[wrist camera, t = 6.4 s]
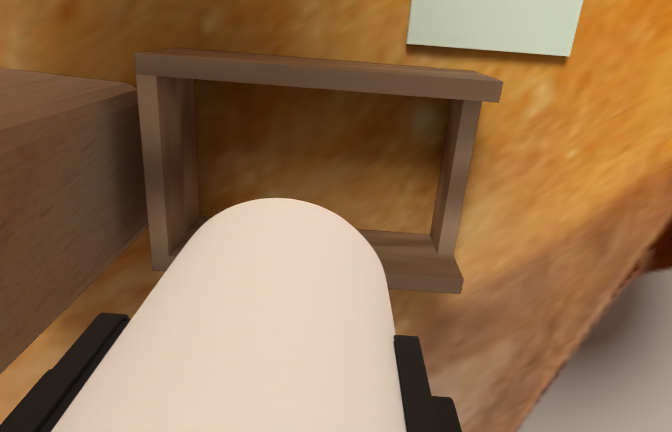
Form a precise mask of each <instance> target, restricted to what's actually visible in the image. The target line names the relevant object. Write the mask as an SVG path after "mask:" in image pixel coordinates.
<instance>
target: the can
mask: <svg viewBox="0 0 672 432" xmlns="http://www.w3.org/2000/svg"><path fill="white" fill-rule="evenodd" d="M394 335H396V334H395V328H394V322H393V316H392V310H391V304H390V298H389V292H388V287H387V282H386V277H385V273H384V270H383V267H382V264H381V262H380V260H379V258H378V256H377V254H376V252H375V251H374V249H373V248H372V247H371V245H370V244H369V243H368V241H367V240H366V239H365V238H364V237H363V236H362V235H361V234H360V233H359V232H358V231H357V230H356V229H355V228H354V227H353V226H352V225H351V224H349V223H348V222H347V221H346V220H344V219H343V218H342V217H340V216H338V215H337V214H335V213H333V212H332V211H330V210H328V209H325V208H323V207H321V206H318V205H315V204H312V203H309V202H305V201H300V200H295V199H287V198H265V199H257V200H251V201H247V202H243V203H240V204H237V205H234V206H232V207H230V208H227V209H225V210H223V211H222V212H220V213H218V214H216V215H215V216H213V217H212V218H211V219H209V220H208V221H207V222H206V223H204V224H203V225H202V226H201V227H200V228H199V229H198V230H197V231H196V232H195V234H194V235H193V236H192V237H191V238H190V240H189V241H188V242H187V244H186V245H185V246H184V247H183V249H182V250H181V252H180V253H179V254H178V256H177V257H176V258H175V260H174V261H173V262H172V264H171V265H170V266H169V268H168V269H167V271H166V272H165V273H164V275H163V276H162V277H161V279H160V280H159V282H158V283H157V284H156V286H155V287H154V289H153V290H152V291H151V293H150V294H149V295H148V297H147V298H146V300H145V301H144V302H143V304H142V305H141V307H140V308H139V309H138V311H137V312H136V314H135V315H134V316H133V318H132V319H131V321H130V322H129V323H128V325H127V326H126V327H125V329H124V330H123V332H122V333H121V334H120V336H119V337H118V339H117V340H116V341H115V343H114V344H113V346H112V347H111V348H110V350H109V351H108V353H107V354H106V355H105V357H104V358H103V360H102V361H101V362H100V364H99V365H98V367H97V368H96V369H95V371H94V372H93V374H92V375H91V376H90V378H89V379H88V381H87V382H86V383H85V385H84V386H83V388H82V389H81V390H80V392H79V393H78V395H77V396H76V397H75V399H74V400H73V402H72V403H71V404H70V406H69V407H68V409H67V410H66V411H65V413H64V414H63V416H62V417H61V418H60V420H59V421H58V423H57V424H56V425H55V427H54V428H53V430H52V431H51V432H407V431H406V424H405V418H404V411H403V404H402V397H401V390H400V383H399V377H398V370H397V363H396V357H395V350H394V343H393V342H394Z"/></svg>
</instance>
